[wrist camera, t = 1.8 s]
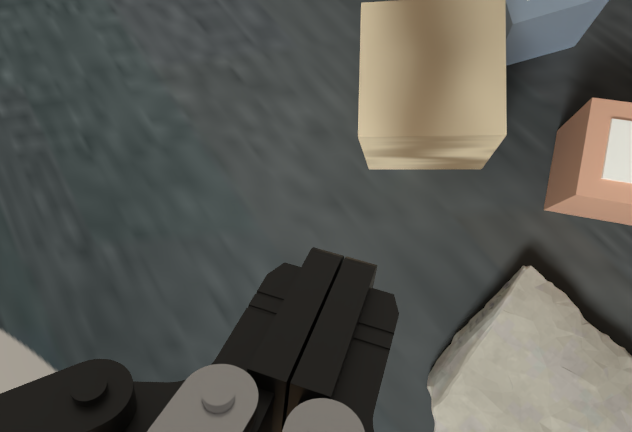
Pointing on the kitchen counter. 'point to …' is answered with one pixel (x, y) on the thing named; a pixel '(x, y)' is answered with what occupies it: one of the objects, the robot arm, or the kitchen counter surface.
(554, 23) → the blue label block
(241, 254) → the kitchen counter surface
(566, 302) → the stone tool
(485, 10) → the plain block
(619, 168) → the terracotta label block
